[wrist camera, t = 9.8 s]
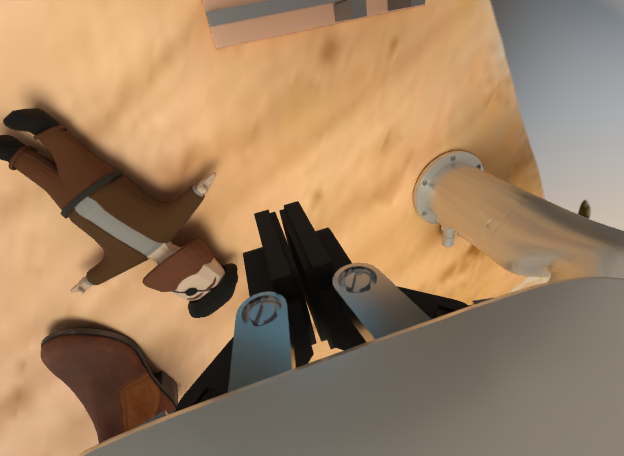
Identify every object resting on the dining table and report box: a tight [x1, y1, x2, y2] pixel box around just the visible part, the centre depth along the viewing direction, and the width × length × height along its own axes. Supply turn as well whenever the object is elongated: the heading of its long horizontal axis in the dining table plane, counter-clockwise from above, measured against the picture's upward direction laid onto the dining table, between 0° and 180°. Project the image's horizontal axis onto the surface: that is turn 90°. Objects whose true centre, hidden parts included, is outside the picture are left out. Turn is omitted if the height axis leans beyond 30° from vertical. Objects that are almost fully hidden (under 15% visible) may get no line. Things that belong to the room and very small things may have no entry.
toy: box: [0, 108, 238, 318], centre depth 40 cm, size 24×10×30 cm
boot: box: [41, 328, 178, 444], centre depth 42 cm, size 25×9×27 cm, turn 19°
